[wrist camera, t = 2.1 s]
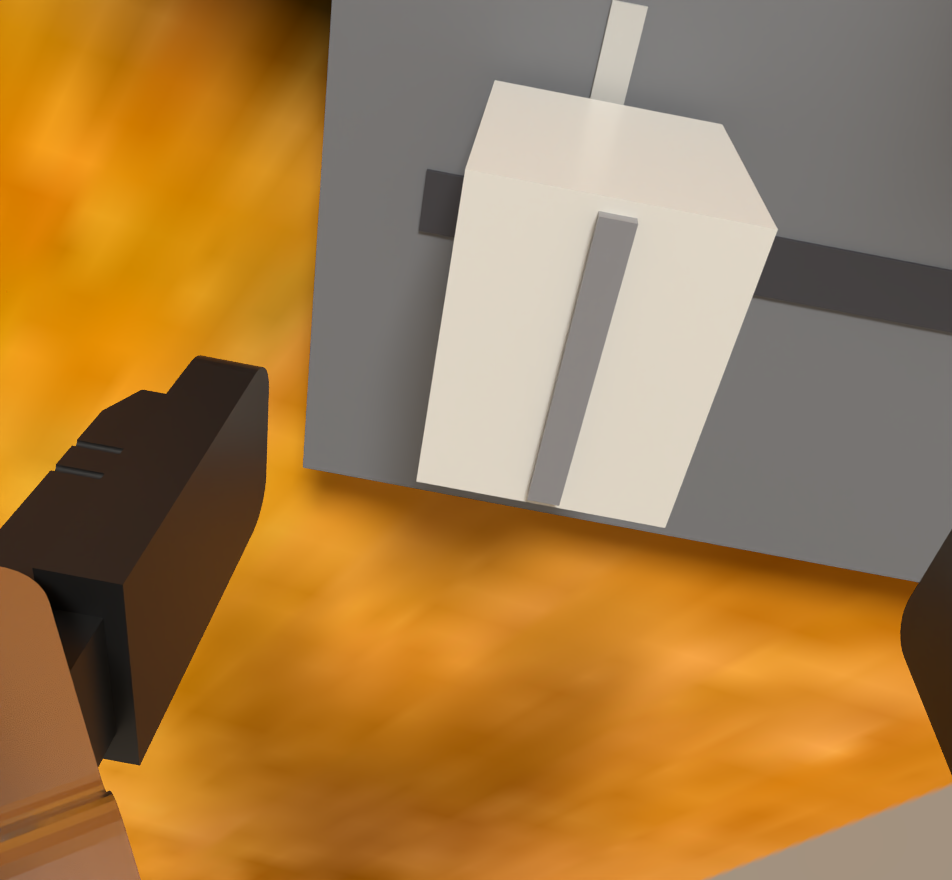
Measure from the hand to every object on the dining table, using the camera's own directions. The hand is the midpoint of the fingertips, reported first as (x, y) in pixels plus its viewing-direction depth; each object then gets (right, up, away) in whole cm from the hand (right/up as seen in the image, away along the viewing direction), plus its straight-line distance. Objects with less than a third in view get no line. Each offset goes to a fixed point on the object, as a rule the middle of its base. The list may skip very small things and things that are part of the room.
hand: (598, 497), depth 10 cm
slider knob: (0, +5, +6) cm, 8 cm away
